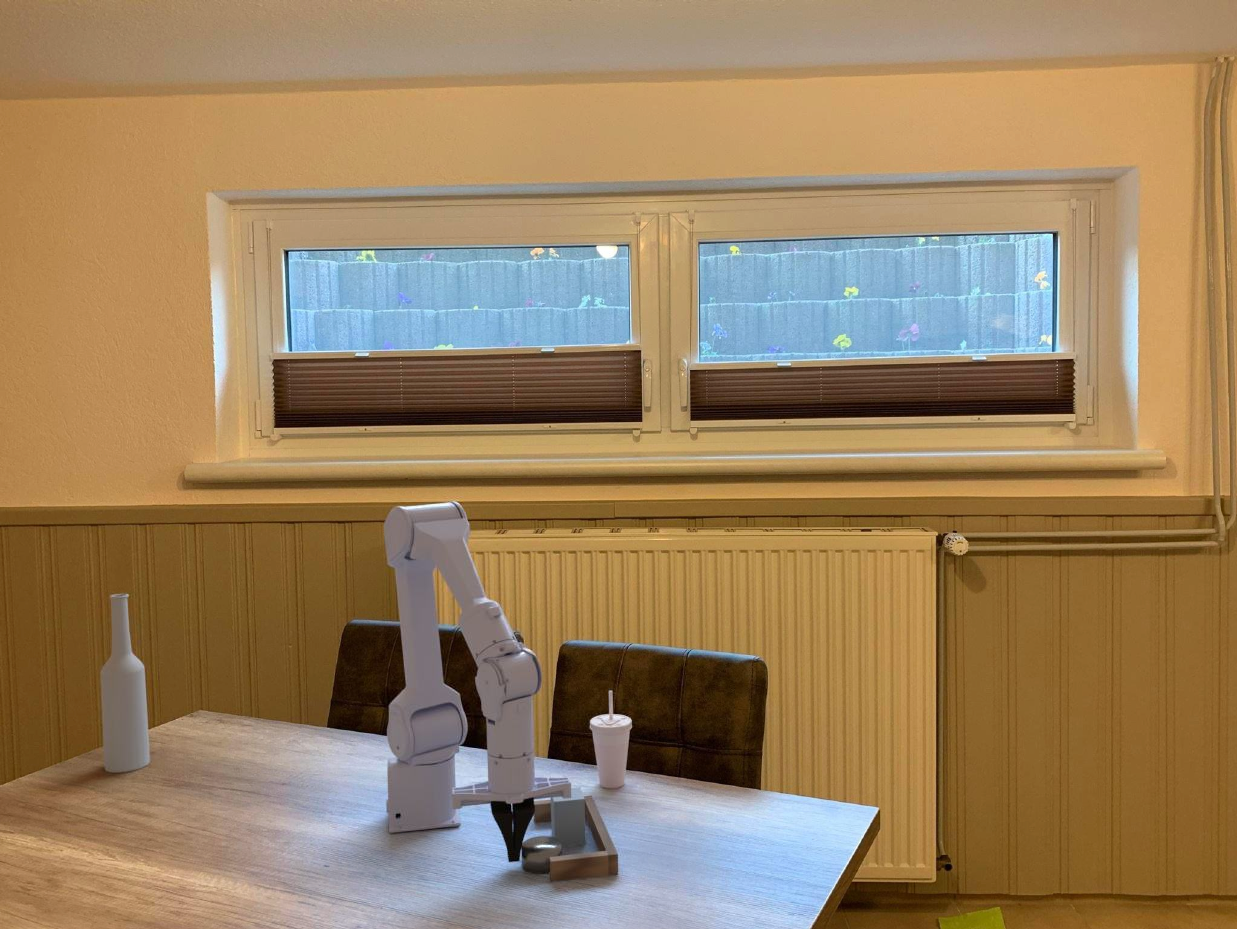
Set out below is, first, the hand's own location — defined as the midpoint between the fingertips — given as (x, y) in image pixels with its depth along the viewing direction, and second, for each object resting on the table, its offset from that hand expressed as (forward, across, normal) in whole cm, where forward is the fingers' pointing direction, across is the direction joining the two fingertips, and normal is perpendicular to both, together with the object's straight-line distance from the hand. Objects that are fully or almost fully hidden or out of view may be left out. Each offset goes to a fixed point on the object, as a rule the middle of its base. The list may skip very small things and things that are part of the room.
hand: (513, 858), depth 121 cm
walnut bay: (+1, +8, +5) cm, 9 cm away
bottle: (+1, -58, +50) cm, 77 cm away
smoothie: (+1, +17, +24) cm, 29 cm away
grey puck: (+1, +4, 0) cm, 4 cm away
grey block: (+1, +8, +7) cm, 10 cm away
